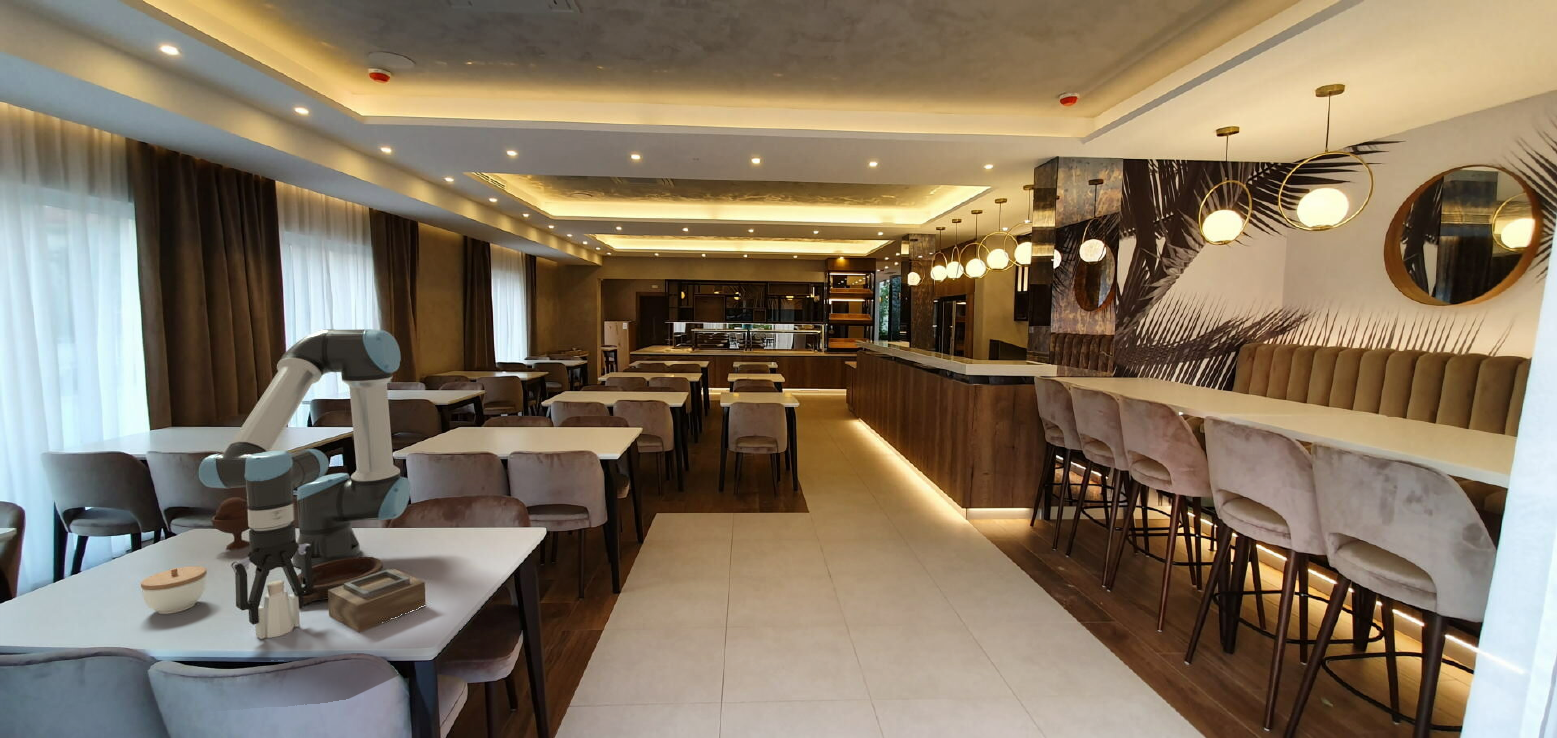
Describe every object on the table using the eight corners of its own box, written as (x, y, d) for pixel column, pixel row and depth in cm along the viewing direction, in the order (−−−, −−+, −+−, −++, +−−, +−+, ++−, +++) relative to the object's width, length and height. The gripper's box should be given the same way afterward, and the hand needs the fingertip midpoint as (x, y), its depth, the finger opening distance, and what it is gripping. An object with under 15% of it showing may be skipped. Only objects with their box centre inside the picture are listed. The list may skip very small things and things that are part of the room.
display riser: (329, 615, 135) (327, 584, 135) (394, 592, 147) (393, 564, 147) (359, 632, 128) (357, 600, 128) (425, 606, 140) (424, 576, 139)
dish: (266, 605, 140) (265, 585, 140) (351, 568, 162) (350, 550, 162) (328, 613, 137) (326, 592, 137) (405, 574, 158) (405, 555, 158)
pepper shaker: (296, 631, 128) (293, 581, 127) (263, 641, 124) (260, 590, 124) (292, 622, 132) (289, 574, 131) (260, 631, 128) (257, 582, 127)
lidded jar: (150, 623, 131) (147, 582, 130) (137, 611, 137) (134, 571, 136) (215, 604, 140) (212, 565, 139) (200, 593, 146) (197, 556, 145)
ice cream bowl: (268, 544, 178) (266, 495, 177) (219, 556, 169) (216, 504, 168) (255, 537, 184) (252, 489, 183) (207, 548, 175) (203, 498, 173)
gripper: (222, 541, 117) (229, 655, 118) (330, 516, 132) (335, 617, 134) (208, 534, 121) (215, 644, 122) (315, 510, 136) (320, 608, 138)
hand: (278, 630), depth 128 cm, fingers closed on pepper shaker, 5 cm apart
